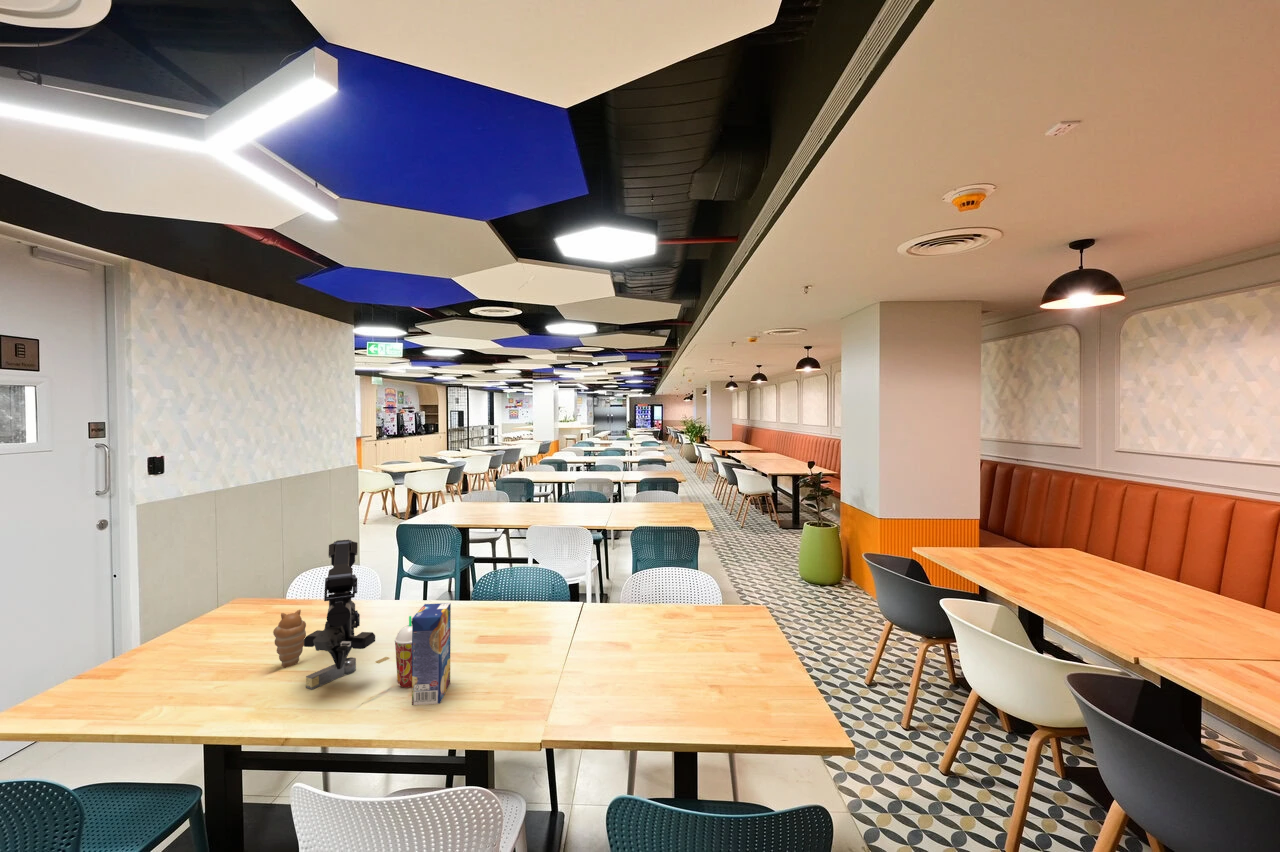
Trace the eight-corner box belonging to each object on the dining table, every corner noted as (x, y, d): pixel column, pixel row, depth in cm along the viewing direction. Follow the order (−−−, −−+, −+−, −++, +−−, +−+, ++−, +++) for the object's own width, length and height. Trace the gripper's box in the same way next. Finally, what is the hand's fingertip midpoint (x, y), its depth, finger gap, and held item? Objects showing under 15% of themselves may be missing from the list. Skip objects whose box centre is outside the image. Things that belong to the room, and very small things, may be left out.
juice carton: (439, 703, 144) (440, 616, 145) (411, 705, 144) (412, 618, 144) (450, 683, 156) (450, 602, 157) (424, 684, 156) (424, 603, 156)
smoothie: (400, 677, 160) (401, 612, 160) (428, 676, 161) (428, 611, 161) (389, 690, 152) (390, 621, 152) (419, 689, 152) (419, 620, 153)
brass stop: (375, 664, 167) (375, 661, 167) (386, 659, 171) (386, 656, 171) (378, 665, 166) (378, 662, 166) (389, 660, 170) (389, 657, 170)
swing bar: (349, 667, 164) (349, 656, 164) (359, 670, 162) (359, 659, 162) (304, 687, 151) (304, 675, 151) (313, 690, 149) (313, 678, 149)
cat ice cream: (303, 660, 172) (303, 605, 173) (309, 667, 167) (309, 611, 167) (271, 668, 166) (271, 611, 166) (276, 676, 160) (276, 618, 161)
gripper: (289, 624, 146) (289, 680, 145) (352, 626, 144) (352, 683, 144) (317, 610, 157) (317, 662, 157) (376, 612, 155) (376, 665, 155)
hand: (339, 668), depth 153 cm, fingers closed
